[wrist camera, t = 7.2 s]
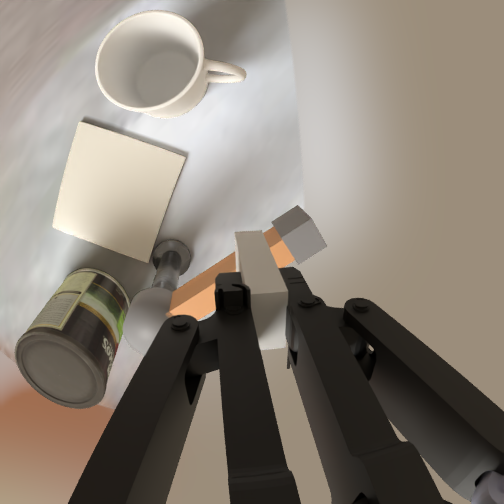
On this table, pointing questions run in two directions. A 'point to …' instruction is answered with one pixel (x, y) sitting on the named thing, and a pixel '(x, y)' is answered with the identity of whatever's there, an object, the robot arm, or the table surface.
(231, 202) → the table surface
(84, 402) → the coffee can
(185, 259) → the post
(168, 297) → the swing arm
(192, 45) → the mug
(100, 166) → the coaster
